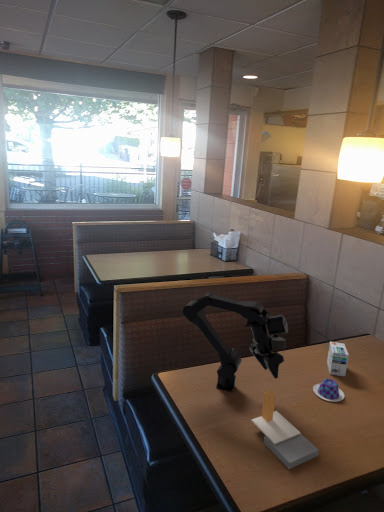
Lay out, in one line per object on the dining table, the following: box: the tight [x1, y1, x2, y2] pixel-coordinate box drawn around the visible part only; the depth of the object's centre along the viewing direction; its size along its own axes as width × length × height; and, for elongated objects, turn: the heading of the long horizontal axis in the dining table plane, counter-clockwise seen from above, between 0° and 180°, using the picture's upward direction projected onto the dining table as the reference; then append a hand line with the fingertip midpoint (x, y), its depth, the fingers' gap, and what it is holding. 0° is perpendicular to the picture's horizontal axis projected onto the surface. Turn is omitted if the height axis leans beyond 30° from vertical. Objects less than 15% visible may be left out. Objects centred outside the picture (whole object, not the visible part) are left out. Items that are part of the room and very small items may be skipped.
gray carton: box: [262, 433, 319, 470], centre depth 122 cm, size 12×12×2 cm
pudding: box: [312, 378, 345, 403], centre depth 152 cm, size 12×12×5 cm
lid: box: [251, 390, 302, 445], centre depth 126 cm, size 12×11×10 cm
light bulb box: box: [326, 341, 350, 378], centre depth 168 cm, size 11×7×11 cm, turn 169°
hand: (271, 373), depth 144 cm, fingers open, 9 cm apart
